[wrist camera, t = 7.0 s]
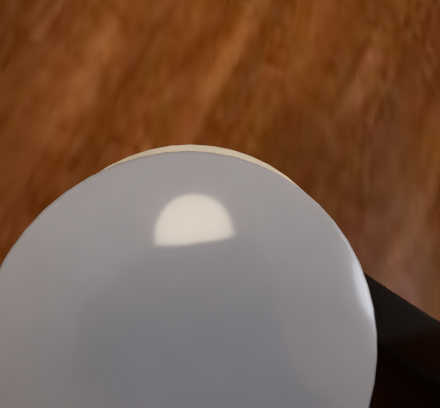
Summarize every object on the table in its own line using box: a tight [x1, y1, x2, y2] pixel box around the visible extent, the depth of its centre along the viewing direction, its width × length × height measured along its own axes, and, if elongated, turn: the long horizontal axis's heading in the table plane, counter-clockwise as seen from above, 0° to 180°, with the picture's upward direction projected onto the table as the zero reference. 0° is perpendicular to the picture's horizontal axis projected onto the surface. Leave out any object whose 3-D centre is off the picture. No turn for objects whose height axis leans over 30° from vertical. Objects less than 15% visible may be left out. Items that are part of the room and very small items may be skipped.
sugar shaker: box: [0, 145, 377, 408], centre depth 8 cm, size 6×6×11 cm
